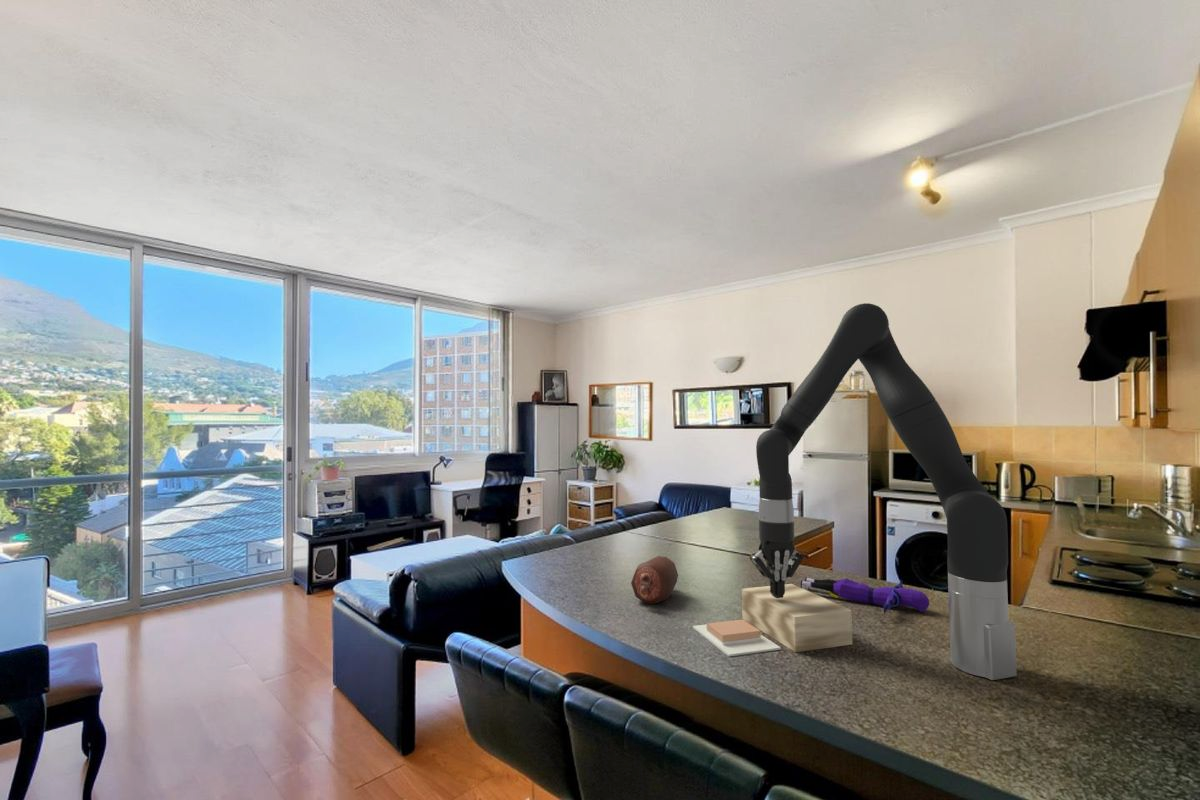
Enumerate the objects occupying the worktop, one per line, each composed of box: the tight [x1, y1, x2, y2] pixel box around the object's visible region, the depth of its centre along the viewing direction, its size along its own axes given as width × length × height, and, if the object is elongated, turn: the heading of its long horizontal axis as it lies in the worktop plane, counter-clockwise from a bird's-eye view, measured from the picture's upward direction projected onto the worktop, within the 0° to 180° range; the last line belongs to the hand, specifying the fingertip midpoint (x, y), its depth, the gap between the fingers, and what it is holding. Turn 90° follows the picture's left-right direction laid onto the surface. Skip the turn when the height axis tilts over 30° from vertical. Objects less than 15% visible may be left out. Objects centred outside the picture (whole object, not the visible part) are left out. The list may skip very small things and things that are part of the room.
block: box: [741, 583, 853, 653], centre depth 119 cm, size 20×14×7 cm
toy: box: [800, 576, 930, 614], centre depth 139 cm, size 27×6×30 cm
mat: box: [692, 623, 782, 657], centre depth 115 cm, size 16×12×1 cm
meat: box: [630, 555, 679, 605], centre depth 142 cm, size 20×12×10 cm, turn 156°
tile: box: [706, 619, 762, 645], centre depth 115 cm, size 7×9×2 cm
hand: (777, 596), depth 118 cm, fingers closed
